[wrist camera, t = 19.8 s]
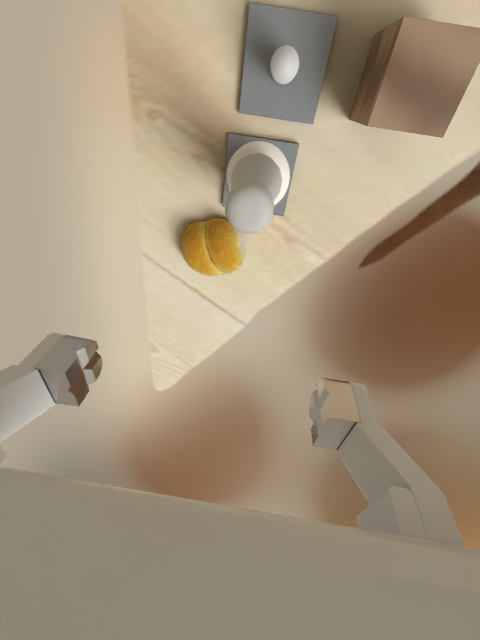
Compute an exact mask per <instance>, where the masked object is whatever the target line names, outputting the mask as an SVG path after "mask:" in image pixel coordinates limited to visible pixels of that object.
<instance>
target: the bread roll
mask: <svg viewBox="0 0 480 640" xmlns="http://www.w3.org/2000/svg"><path fill="white" fill-rule="evenodd" d="M182 253H183V257H184V259H185V261H186V262H187V264H188V265H189V266H190V267H191V268H192V269H194V270H195V271H197V272H199V273H201V274H204V275H208V276H218V275H223V274H228V273H232V272H234V271H236V270H237V269H239V268H240V267H241V265H242V264H243V262H244V258H245V255H246V250H245V243H244V239H243V236H242V232H239V231H237V230H235V228H234V227H233V226H232V225H231V224H230V223H229V221H228V220H226V219H220V218H214V219H211V220H208V221H199V222H194V223H191V224H190V225H189V226H188V227H187V229H186V230H185V232H184V234H183V237H182Z"/></svg>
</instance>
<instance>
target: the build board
mask: <svg viewBox="0 0 480 640" xmlns="http://www.w3.org/2000/svg"><path fill="white" fill-rule="evenodd" d="M298 147H299V144H297V143H290V142H284V141H277V140H271V139H264V138H258V137H252V136H245V135H239V134H232V133H228V142H227V155H226V168H225V181H224V194H223V207H225V206H226V198H227V197H228V195H229V193H230V192H231V177H232V171H233V169H234V168H235V166H236V164H237V162H238V161H239V160H241V159H242V158H244V157H245V156H247V155H248V154H256V153H262V154H264V155H266V156H268V157H270V158H272V159H273V160H274V162H275V163H276V164H277V165H278V167H279V168H280V172H281V177H282V185H281V190H280V193H279V195H278V196H277V197H276V199H275V200H274V212H273V215H279V216H284V212H285V207H286V202H287V198H288V193H289V188H290V184H291V179H292V175H293V170H294V165H295V161H296V156H297V151H298Z"/></svg>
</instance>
